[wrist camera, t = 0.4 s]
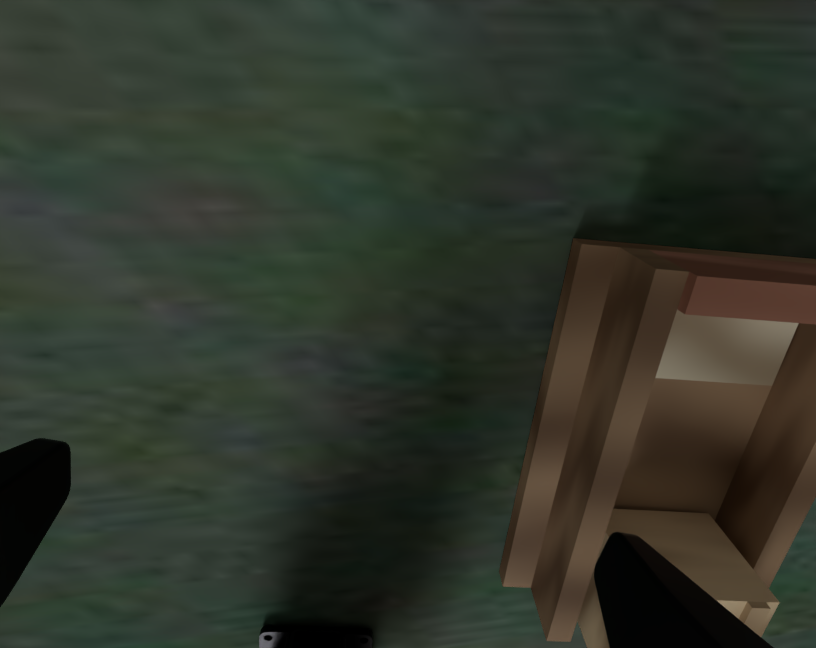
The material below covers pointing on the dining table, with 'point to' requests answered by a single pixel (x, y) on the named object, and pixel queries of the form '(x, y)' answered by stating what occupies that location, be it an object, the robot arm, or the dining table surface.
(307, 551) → the dining table surface
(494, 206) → the dining table surface
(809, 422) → the bay
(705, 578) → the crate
